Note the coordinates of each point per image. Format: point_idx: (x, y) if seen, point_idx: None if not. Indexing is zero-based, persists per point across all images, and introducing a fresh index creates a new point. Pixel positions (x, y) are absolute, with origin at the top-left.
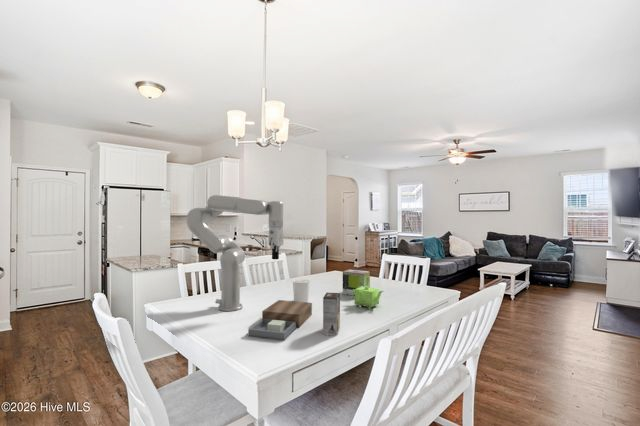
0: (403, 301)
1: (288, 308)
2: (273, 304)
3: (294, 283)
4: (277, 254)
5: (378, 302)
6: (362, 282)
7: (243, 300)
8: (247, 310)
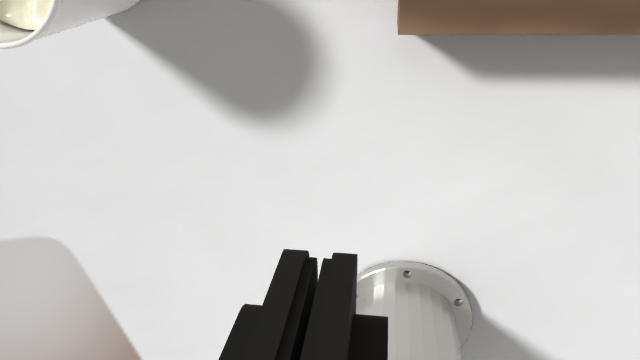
0: None
1: None
2: (548, 22)
3: (63, 7)
4: (346, 341)
5: None
6: None
7: None
8: (422, 218)
